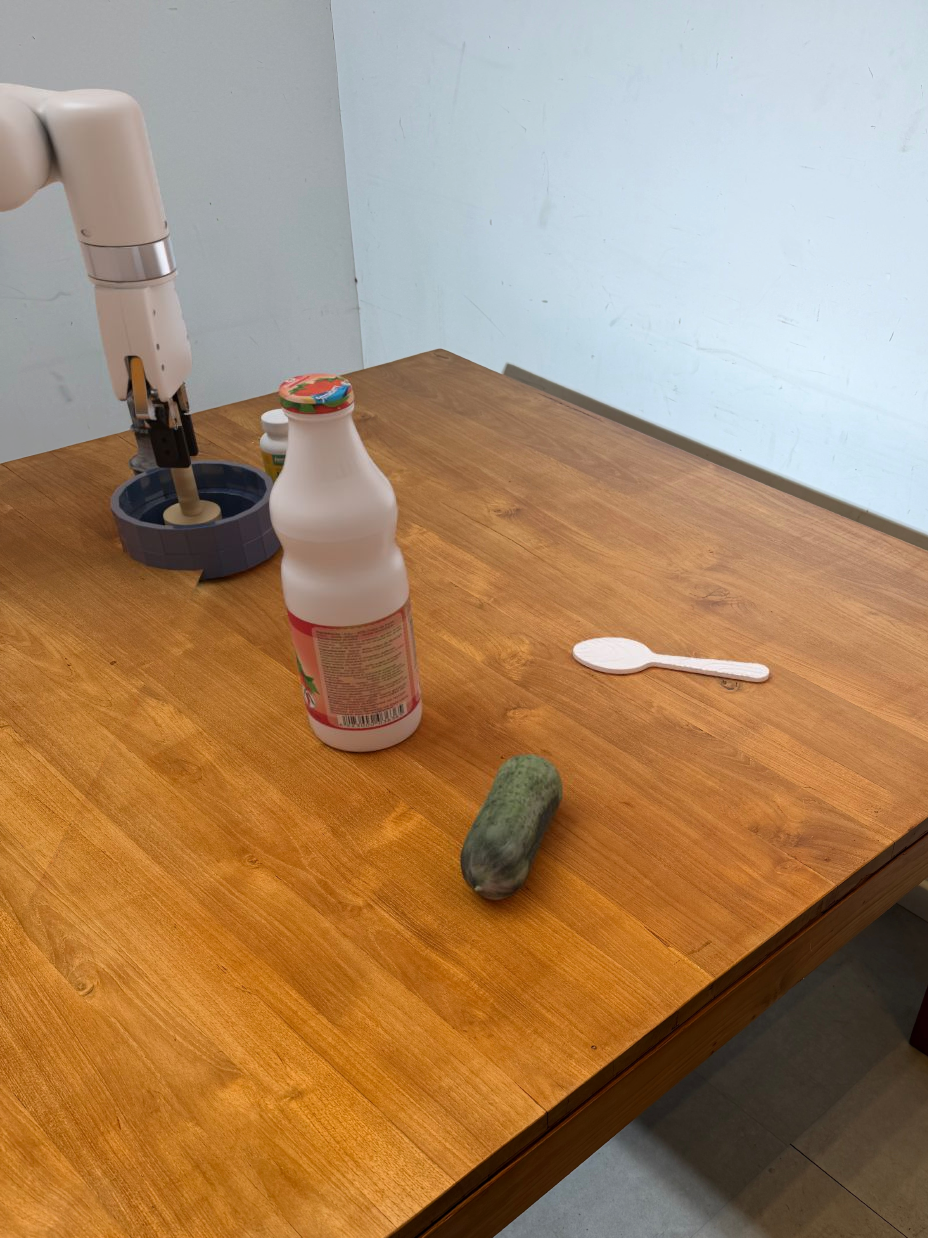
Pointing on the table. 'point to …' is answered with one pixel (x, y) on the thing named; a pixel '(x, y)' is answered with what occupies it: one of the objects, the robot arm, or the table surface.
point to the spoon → (657, 660)
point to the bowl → (198, 546)
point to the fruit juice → (343, 574)
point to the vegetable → (510, 826)
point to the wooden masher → (188, 497)
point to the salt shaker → (140, 443)
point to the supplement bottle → (274, 442)
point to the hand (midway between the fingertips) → (178, 459)
